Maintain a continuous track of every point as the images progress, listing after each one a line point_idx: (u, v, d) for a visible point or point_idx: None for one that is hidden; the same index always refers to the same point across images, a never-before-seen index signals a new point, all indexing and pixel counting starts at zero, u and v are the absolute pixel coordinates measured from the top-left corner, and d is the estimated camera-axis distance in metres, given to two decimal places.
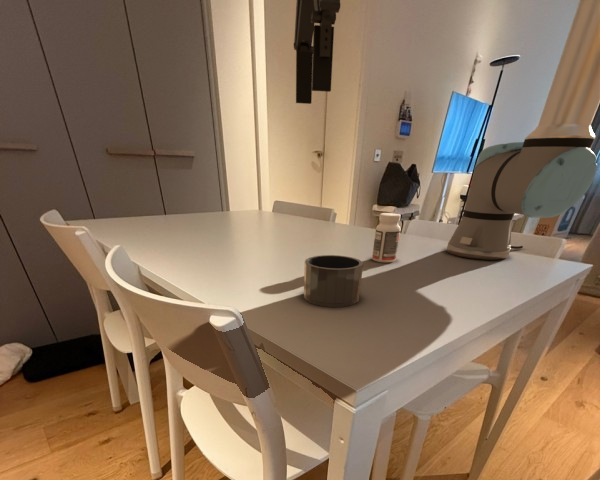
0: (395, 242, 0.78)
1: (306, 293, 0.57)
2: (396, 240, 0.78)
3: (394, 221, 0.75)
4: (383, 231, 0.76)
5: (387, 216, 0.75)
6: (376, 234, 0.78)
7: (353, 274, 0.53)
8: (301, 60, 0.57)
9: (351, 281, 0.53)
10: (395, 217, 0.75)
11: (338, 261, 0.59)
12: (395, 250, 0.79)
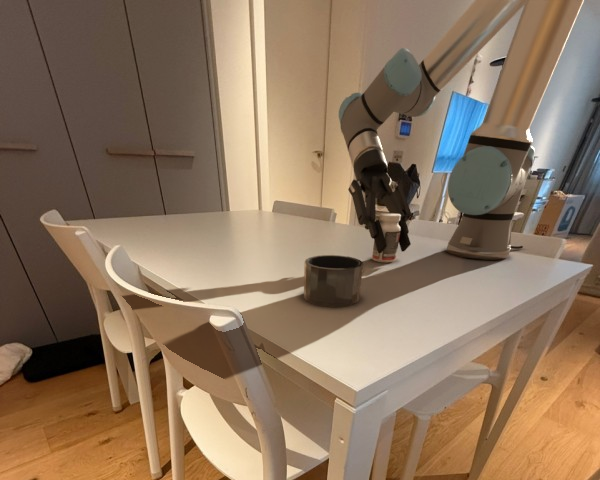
0: (395, 242, 0.78)
1: (306, 293, 0.57)
2: (396, 240, 0.78)
3: (394, 221, 0.75)
4: (383, 231, 0.76)
5: (387, 216, 0.75)
6: None
7: (353, 274, 0.53)
8: None
9: (351, 281, 0.53)
10: (395, 217, 0.75)
11: (338, 261, 0.59)
12: (395, 250, 0.79)
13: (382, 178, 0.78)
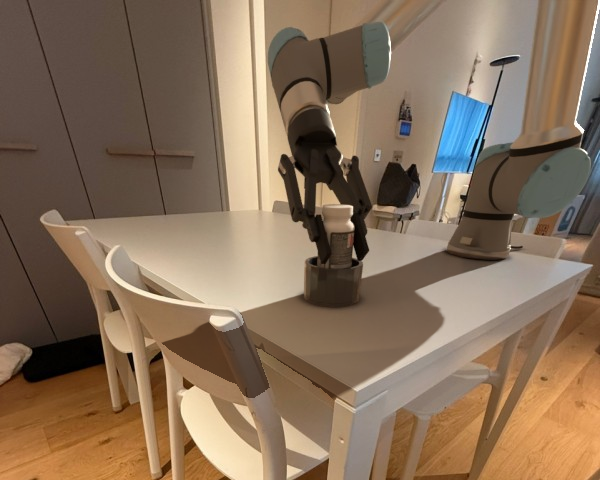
0: (347, 248, 0.52)
1: (306, 293, 0.57)
2: (348, 245, 0.52)
3: (342, 216, 0.50)
4: (328, 231, 0.51)
5: (331, 208, 0.49)
6: None
7: (353, 274, 0.53)
8: None
9: (351, 281, 0.53)
10: (344, 210, 0.49)
11: None
12: (348, 259, 0.53)
13: (327, 152, 0.52)
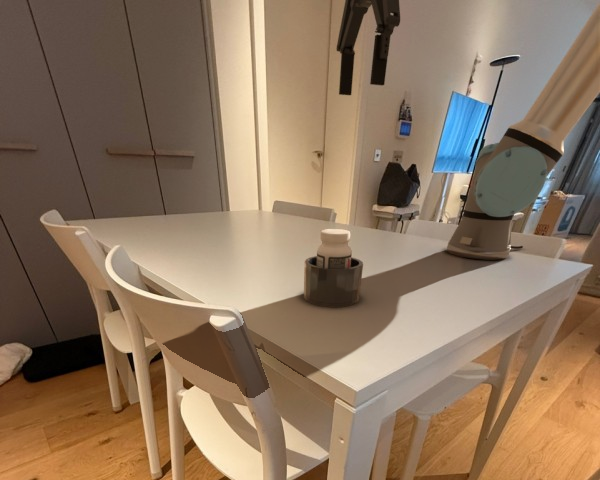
0: None
1: (306, 293, 0.57)
2: None
3: (340, 242, 0.52)
4: (326, 256, 0.53)
5: (329, 235, 0.51)
6: (317, 259, 0.55)
7: (353, 274, 0.53)
8: None
9: (351, 281, 0.53)
10: (341, 236, 0.51)
11: None
12: None
13: None
